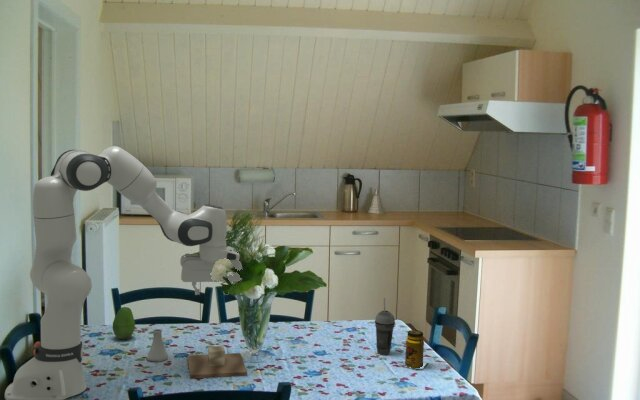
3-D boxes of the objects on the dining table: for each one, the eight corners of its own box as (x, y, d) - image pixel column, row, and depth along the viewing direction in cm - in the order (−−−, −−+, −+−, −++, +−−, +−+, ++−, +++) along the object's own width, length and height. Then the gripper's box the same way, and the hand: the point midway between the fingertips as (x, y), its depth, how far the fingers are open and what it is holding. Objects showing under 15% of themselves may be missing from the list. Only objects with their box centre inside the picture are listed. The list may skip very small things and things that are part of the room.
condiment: (401, 367, 234) (402, 332, 232) (408, 359, 241) (410, 326, 240) (421, 371, 231) (423, 336, 229) (428, 363, 238) (430, 329, 237)
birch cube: (209, 366, 225) (209, 351, 224) (208, 361, 230) (208, 346, 229) (224, 365, 226) (224, 351, 225) (223, 360, 231) (223, 346, 230)
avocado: (139, 338, 255) (139, 306, 253) (123, 343, 248) (123, 311, 247) (123, 334, 259) (124, 302, 257) (107, 339, 252) (107, 307, 251)
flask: (162, 363, 230) (163, 334, 229) (142, 361, 231) (142, 332, 230) (171, 356, 237) (171, 328, 236) (152, 354, 238) (152, 326, 237)
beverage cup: (378, 357, 242) (381, 302, 240) (369, 350, 249) (372, 297, 247) (397, 355, 245) (399, 300, 243) (387, 349, 252) (390, 295, 249)
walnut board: (190, 378, 217) (190, 374, 217) (187, 359, 235) (187, 355, 234) (247, 375, 221) (247, 371, 221) (240, 356, 239) (240, 353, 239)
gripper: (180, 255, 222) (179, 297, 223) (244, 255, 226) (242, 296, 228) (180, 251, 228) (179, 292, 229) (242, 251, 232) (240, 291, 234)
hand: (211, 294), depth 228 cm, fingers open, 8 cm apart
